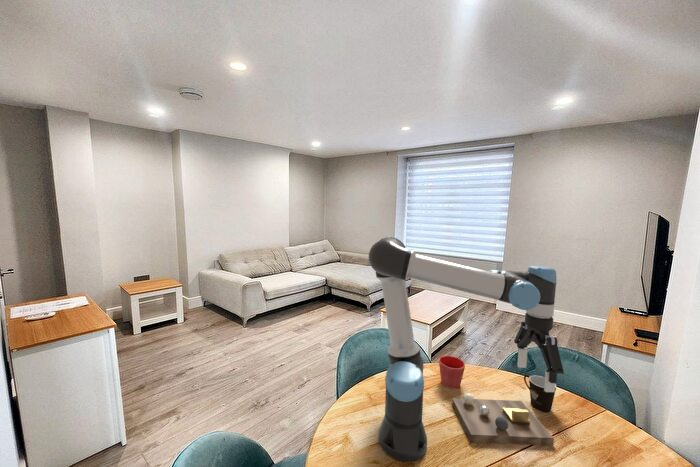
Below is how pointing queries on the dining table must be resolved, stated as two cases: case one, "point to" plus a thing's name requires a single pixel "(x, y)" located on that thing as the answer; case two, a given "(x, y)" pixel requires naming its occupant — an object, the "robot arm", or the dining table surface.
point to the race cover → (517, 414)
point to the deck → (488, 431)
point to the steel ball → (484, 411)
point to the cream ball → (469, 399)
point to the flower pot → (451, 371)
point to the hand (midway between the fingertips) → (534, 378)
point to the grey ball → (501, 423)
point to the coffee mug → (539, 394)
